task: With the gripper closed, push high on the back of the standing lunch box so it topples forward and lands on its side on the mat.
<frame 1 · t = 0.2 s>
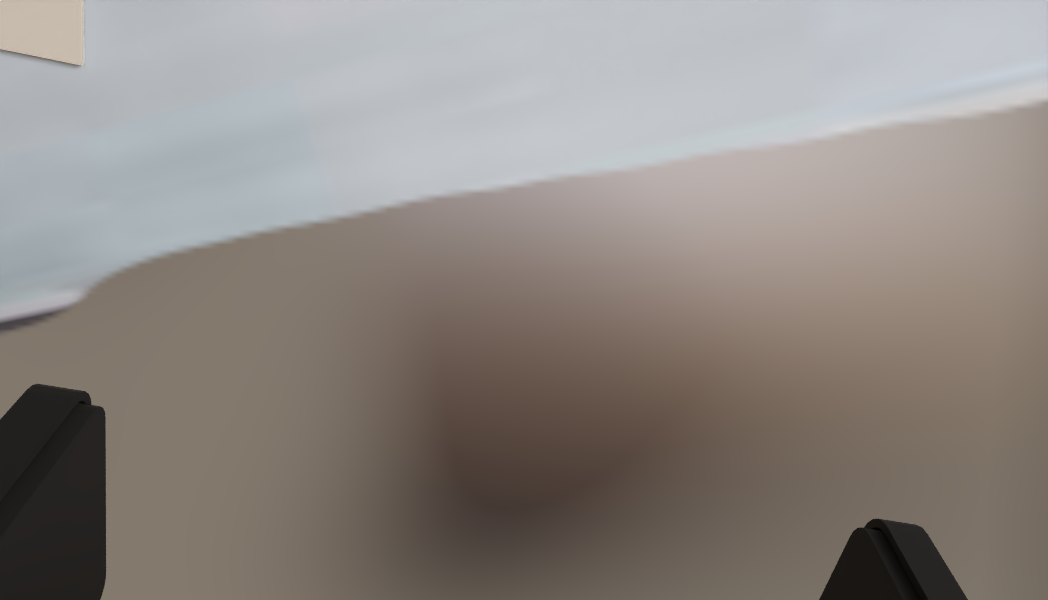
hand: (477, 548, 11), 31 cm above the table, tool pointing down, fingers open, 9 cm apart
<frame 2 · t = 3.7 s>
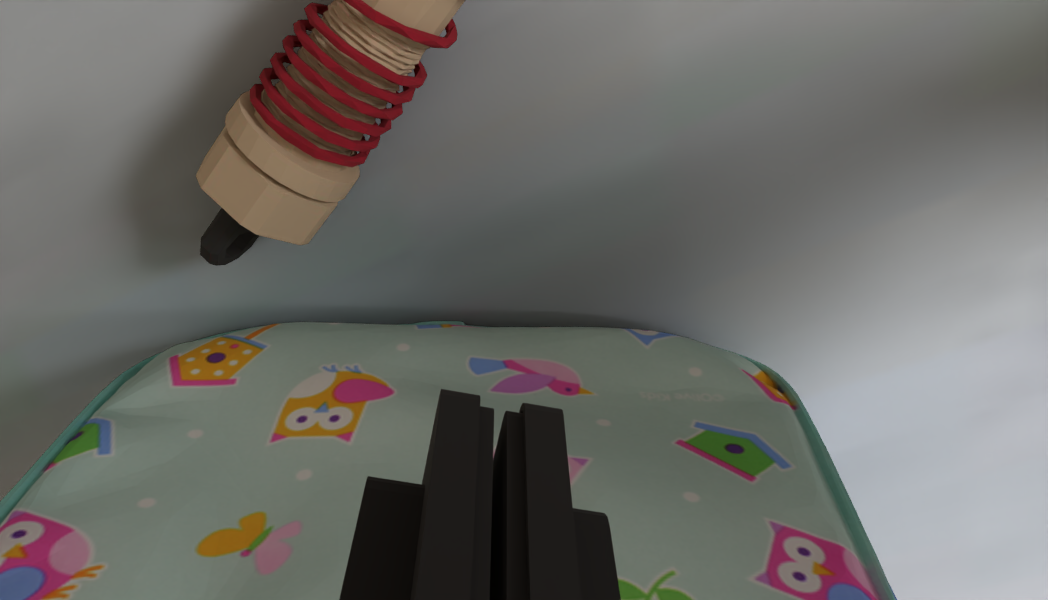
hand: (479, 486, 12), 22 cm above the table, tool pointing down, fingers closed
lunch box: (455, 407, 38), on the table
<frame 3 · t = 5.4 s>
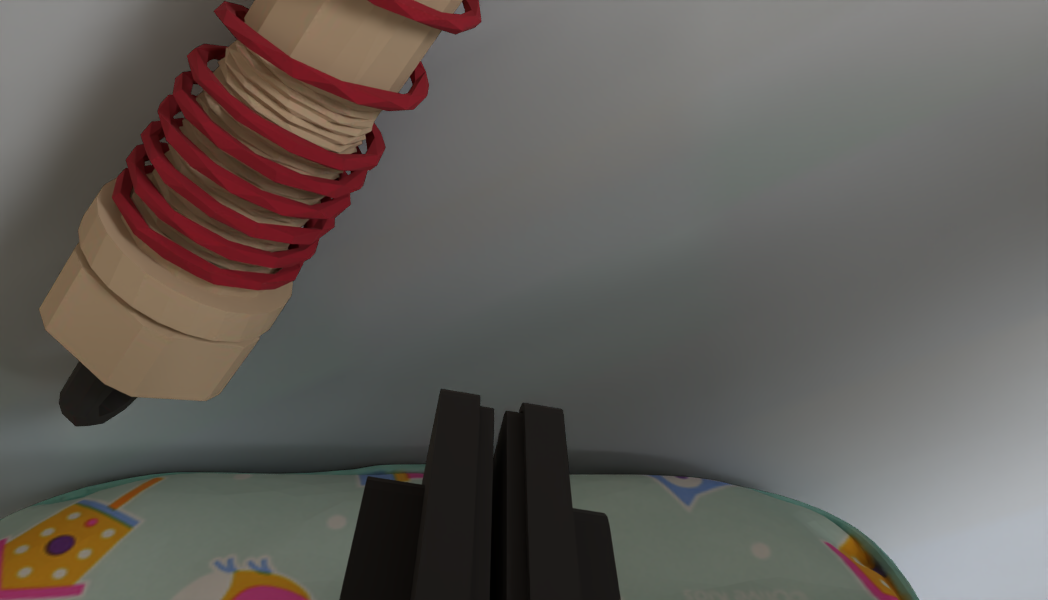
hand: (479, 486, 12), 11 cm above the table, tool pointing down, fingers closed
lunch box: (419, 569, 28), on the table
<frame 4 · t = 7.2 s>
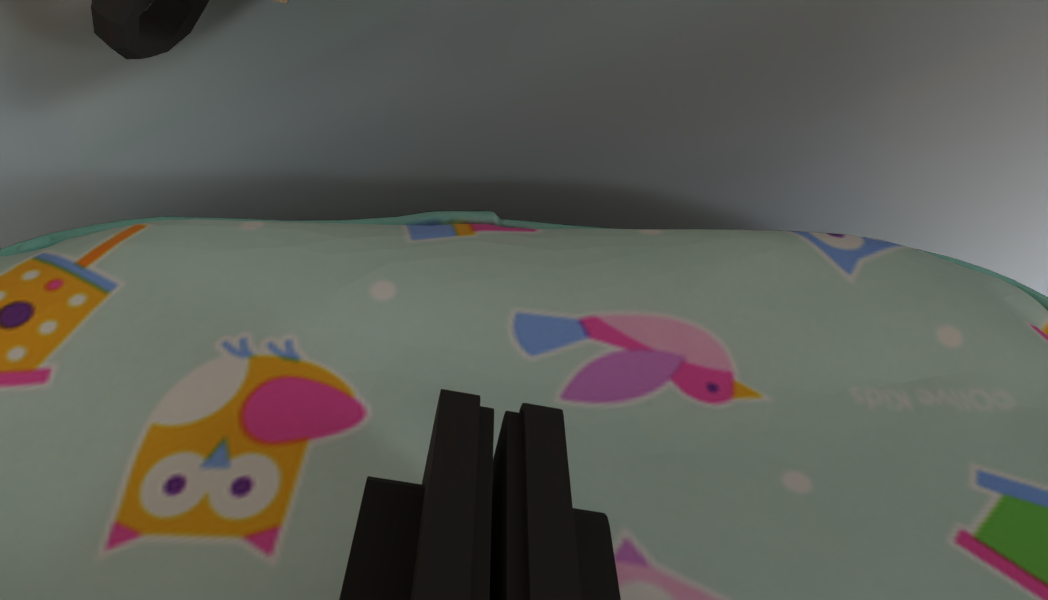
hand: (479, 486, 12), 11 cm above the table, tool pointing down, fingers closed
lunch box: (479, 335, 23), point 1 cm above the table, touching gripper
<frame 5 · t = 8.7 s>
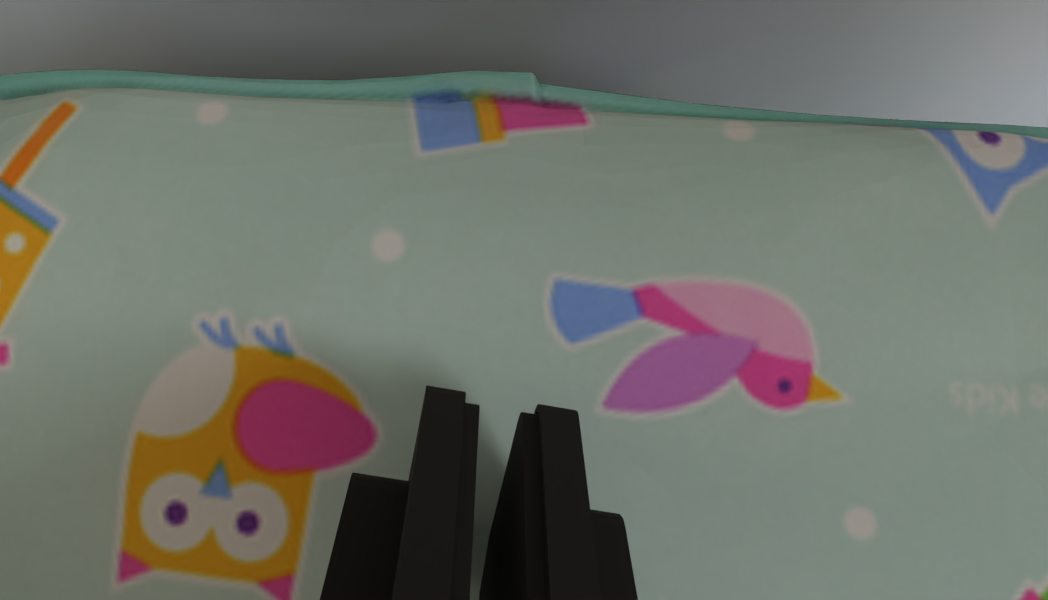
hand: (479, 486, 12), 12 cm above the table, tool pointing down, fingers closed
lunch box: (512, 143, 19), point 4 cm above the table, touching gripper, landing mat
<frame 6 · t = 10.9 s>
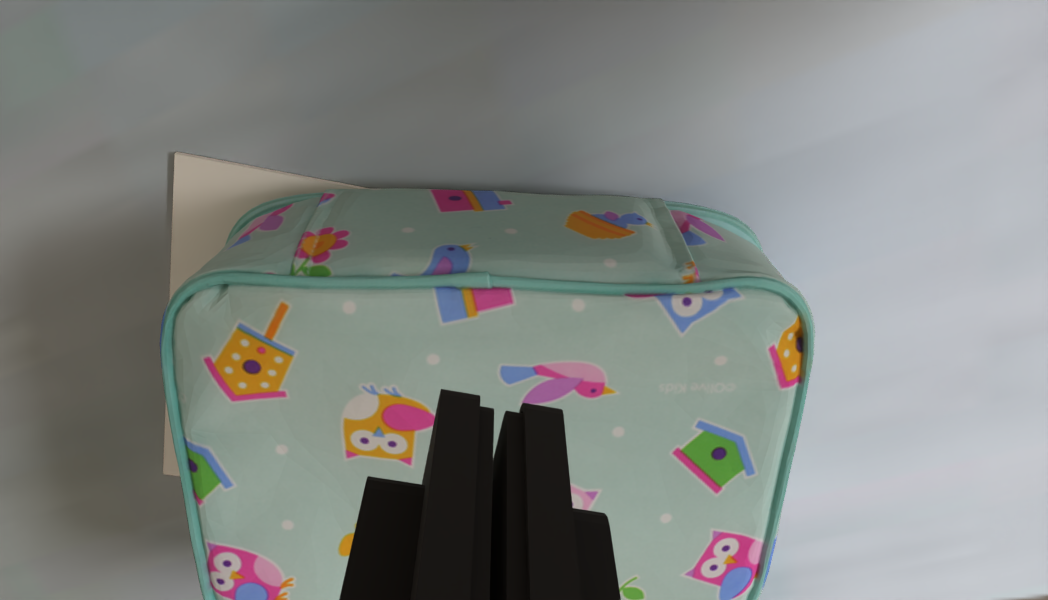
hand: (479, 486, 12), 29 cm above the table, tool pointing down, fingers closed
lunch box: (479, 214, 35), point 6 cm above the table, touching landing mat
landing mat: (432, 369, 45), on the table
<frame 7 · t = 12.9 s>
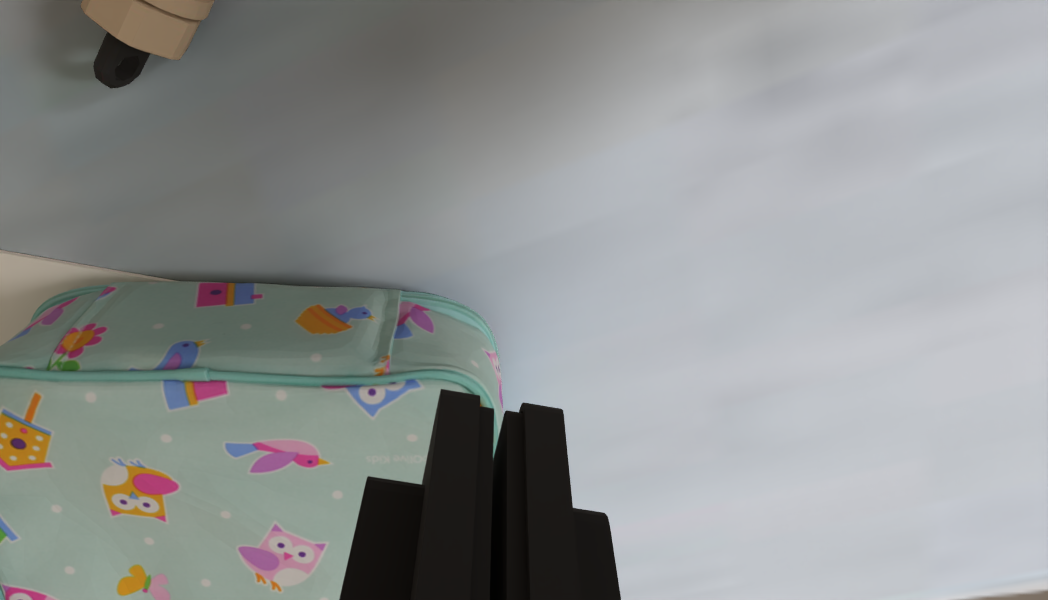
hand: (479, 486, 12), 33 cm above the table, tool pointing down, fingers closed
lunch box: (223, 311, 42), point 6 cm above the table, touching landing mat
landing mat: (231, 427, 51), on the table
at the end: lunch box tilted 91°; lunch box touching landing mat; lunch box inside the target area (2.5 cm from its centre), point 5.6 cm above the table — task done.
